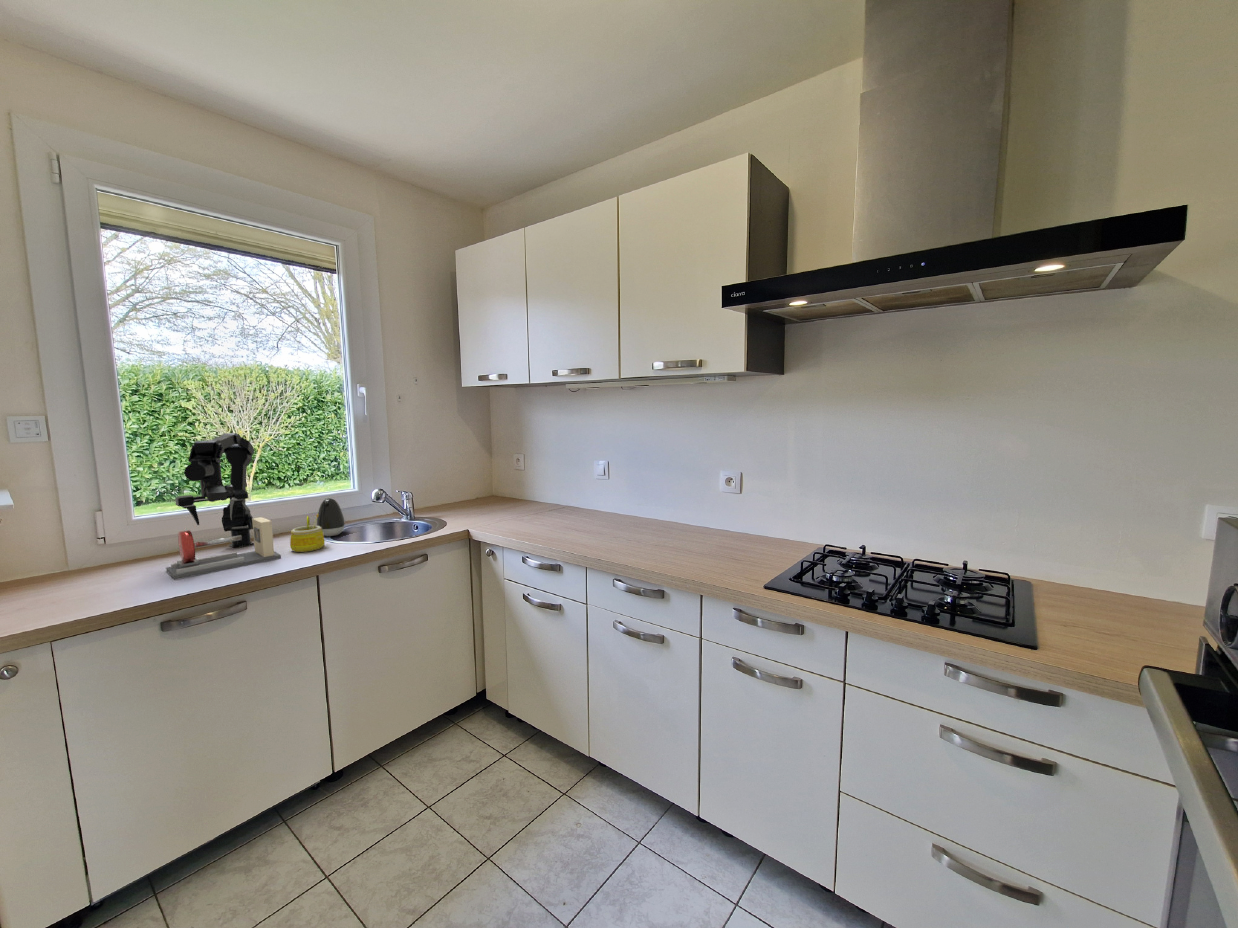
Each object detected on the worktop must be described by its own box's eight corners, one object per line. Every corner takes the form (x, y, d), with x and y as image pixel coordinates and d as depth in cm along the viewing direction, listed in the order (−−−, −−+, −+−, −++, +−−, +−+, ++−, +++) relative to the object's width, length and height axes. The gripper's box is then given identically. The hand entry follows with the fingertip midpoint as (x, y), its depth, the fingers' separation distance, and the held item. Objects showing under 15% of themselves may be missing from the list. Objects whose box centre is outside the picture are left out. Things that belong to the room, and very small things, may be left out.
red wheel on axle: (176, 565, 161) (172, 530, 159) (238, 554, 173) (235, 521, 172) (182, 572, 154) (178, 535, 153) (247, 559, 167) (243, 525, 165)
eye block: (166, 571, 160) (161, 530, 159) (269, 551, 181) (266, 515, 180) (174, 579, 152) (169, 537, 150) (280, 558, 173) (277, 520, 171)
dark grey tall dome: (313, 538, 199) (310, 501, 197) (321, 532, 209) (318, 496, 207) (341, 536, 201) (339, 499, 200) (348, 530, 211) (345, 495, 210)
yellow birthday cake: (309, 554, 178) (306, 521, 176) (283, 552, 180) (280, 520, 178) (336, 544, 190) (333, 513, 189) (311, 543, 192) (309, 512, 191)
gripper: (179, 482, 157) (184, 531, 159) (250, 476, 171) (255, 520, 173) (172, 479, 164) (177, 526, 166) (241, 473, 178) (245, 516, 180)
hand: (215, 522), depth 171 cm, fingers open, 9 cm apart
